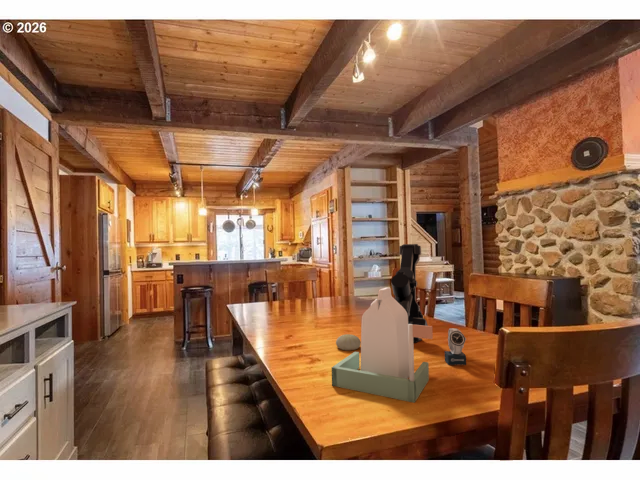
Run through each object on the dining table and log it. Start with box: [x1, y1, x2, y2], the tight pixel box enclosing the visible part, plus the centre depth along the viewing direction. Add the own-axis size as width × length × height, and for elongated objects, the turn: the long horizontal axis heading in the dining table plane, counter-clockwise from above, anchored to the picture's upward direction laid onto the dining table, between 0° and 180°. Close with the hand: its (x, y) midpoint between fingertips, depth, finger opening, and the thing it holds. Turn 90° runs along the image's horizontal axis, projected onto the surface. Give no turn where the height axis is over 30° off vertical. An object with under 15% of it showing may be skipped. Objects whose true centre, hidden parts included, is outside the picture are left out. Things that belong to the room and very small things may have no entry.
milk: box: [360, 287, 409, 379], centre depth 102 cm, size 12×12×26 cm
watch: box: [444, 328, 467, 366], centre depth 113 cm, size 6×8×11 cm
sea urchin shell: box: [335, 333, 361, 351], centre depth 131 cm, size 9×8×8 cm
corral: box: [331, 324, 434, 403], centre depth 97 cm, size 16×28×19 cm, turn 60°
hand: (392, 347), depth 107 cm, fingers closed, pressing on milk
